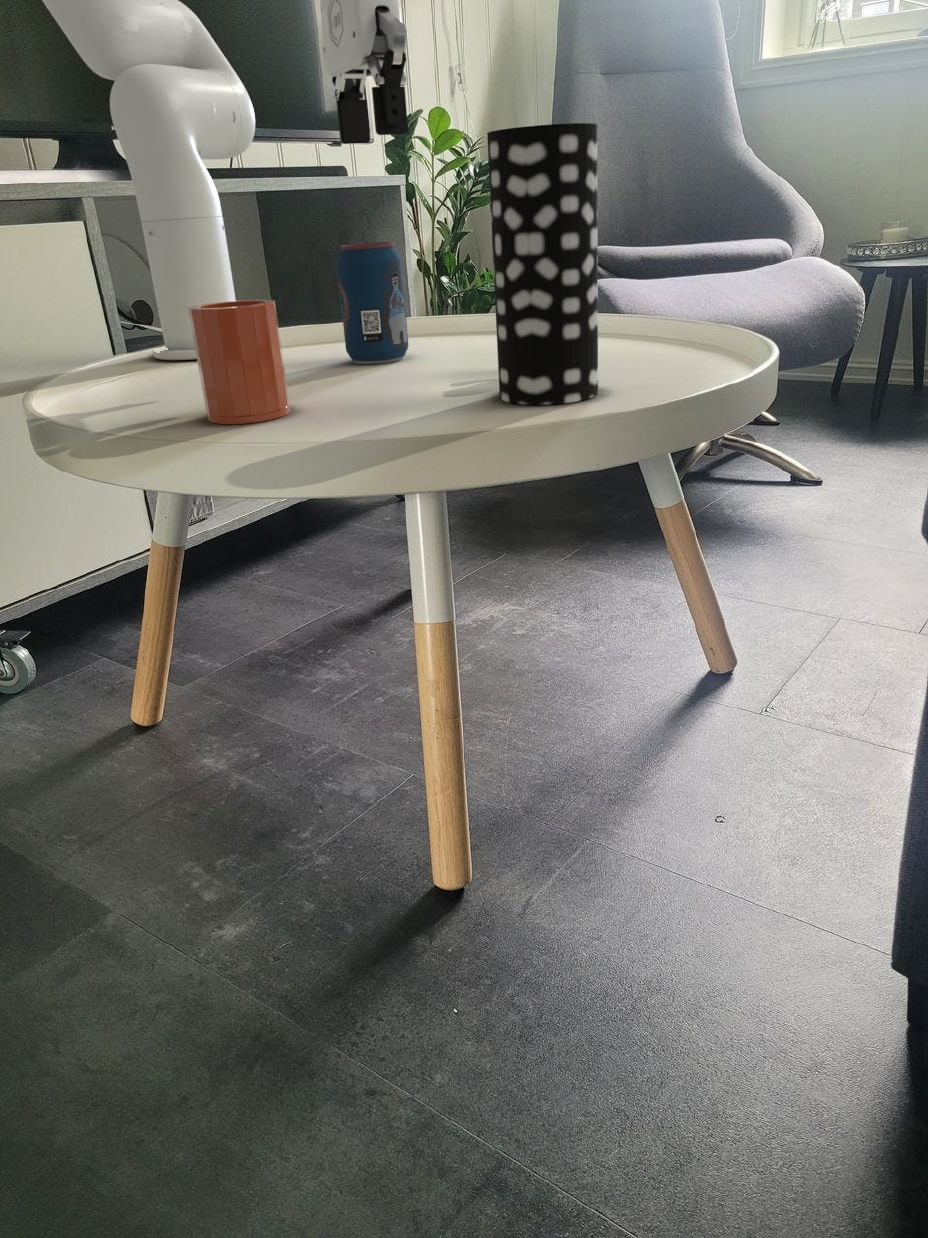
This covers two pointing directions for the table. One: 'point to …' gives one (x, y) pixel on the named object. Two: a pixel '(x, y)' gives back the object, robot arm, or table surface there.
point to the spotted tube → (545, 261)
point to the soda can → (372, 302)
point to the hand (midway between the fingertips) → (373, 138)
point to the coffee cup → (240, 361)
